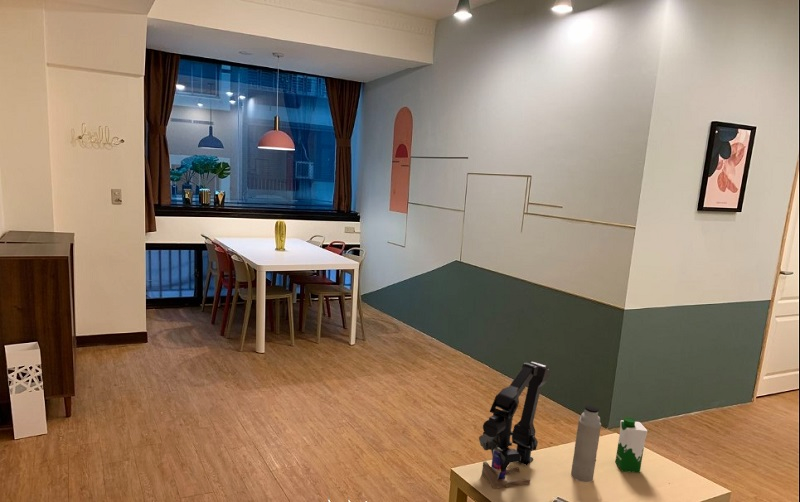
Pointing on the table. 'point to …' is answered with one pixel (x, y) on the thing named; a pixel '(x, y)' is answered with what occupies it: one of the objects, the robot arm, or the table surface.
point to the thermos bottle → (586, 445)
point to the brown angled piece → (501, 483)
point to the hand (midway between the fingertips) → (498, 466)
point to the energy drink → (497, 463)
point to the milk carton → (630, 445)
